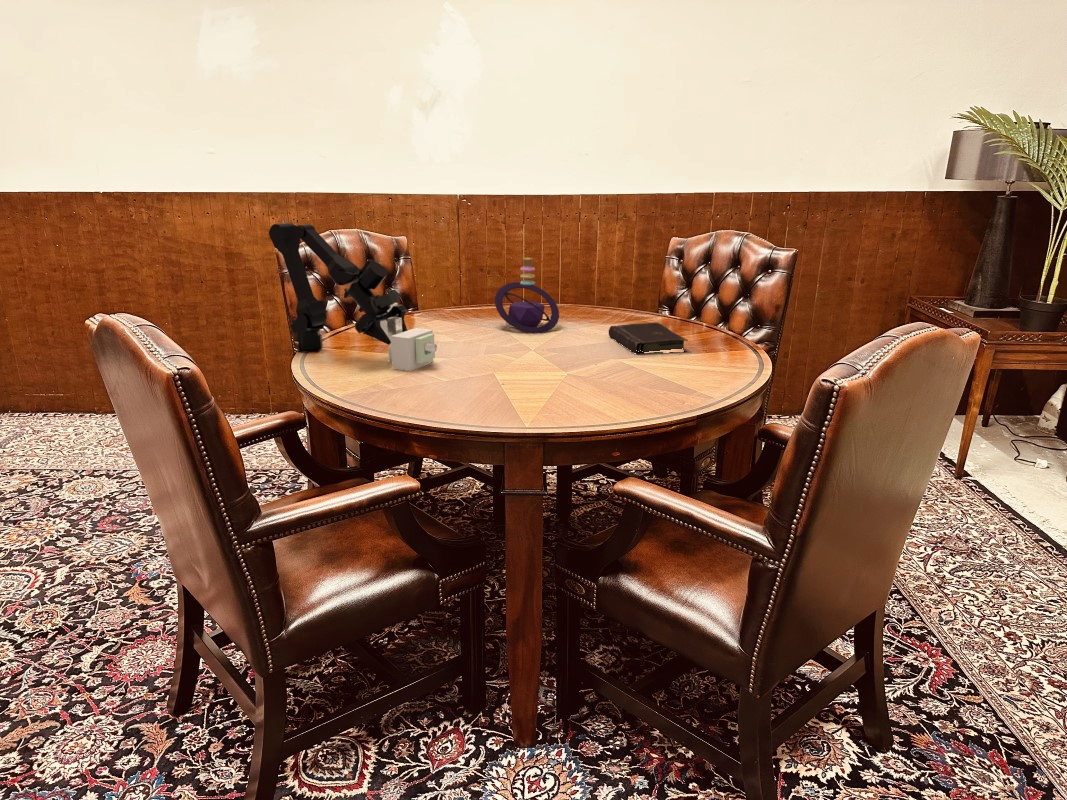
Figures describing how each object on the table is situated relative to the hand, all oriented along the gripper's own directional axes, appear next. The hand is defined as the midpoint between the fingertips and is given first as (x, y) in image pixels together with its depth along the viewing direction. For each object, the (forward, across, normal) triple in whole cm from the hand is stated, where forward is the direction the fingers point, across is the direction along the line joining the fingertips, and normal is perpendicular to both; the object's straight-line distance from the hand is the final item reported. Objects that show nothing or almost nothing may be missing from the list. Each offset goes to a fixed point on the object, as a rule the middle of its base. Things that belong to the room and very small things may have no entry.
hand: (399, 340), depth 209 cm
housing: (+8, 0, +2) cm, 8 cm away
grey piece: (+8, 0, +2) cm, 8 cm away
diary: (+46, +57, -35) cm, 82 cm away
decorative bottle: (+13, +61, -3) cm, 62 cm away
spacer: (+10, 0, -3) cm, 10 cm away
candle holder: (-12, +25, +22) cm, 36 cm away
